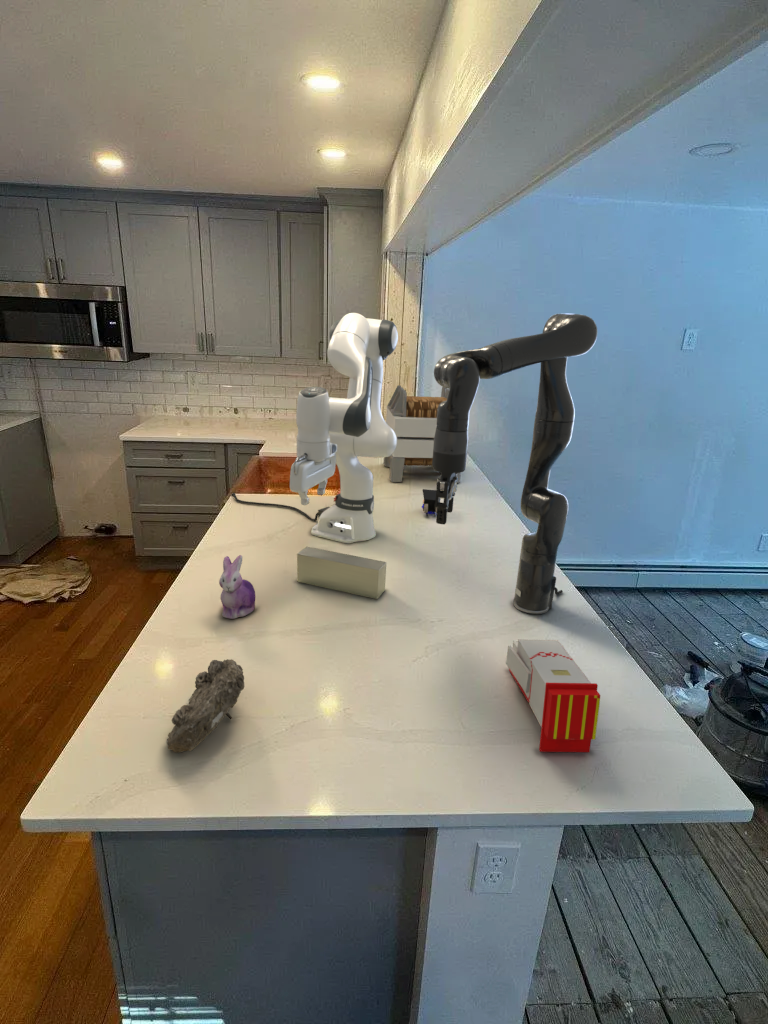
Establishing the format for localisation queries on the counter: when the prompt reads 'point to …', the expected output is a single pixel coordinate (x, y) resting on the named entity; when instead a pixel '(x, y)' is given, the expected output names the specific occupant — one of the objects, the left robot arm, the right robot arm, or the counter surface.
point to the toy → (556, 694)
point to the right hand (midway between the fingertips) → (444, 517)
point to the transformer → (412, 430)
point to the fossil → (206, 705)
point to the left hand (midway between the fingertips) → (313, 499)
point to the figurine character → (429, 502)
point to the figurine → (235, 590)
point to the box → (341, 572)
